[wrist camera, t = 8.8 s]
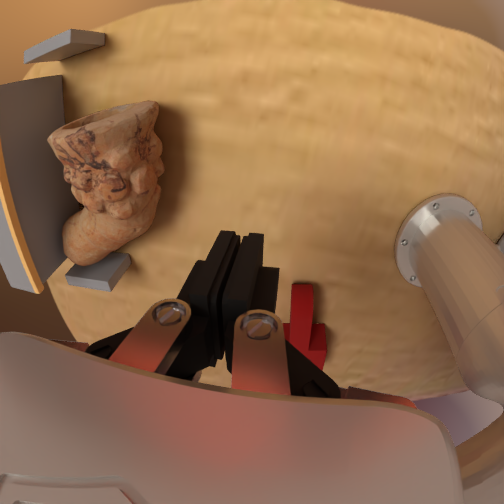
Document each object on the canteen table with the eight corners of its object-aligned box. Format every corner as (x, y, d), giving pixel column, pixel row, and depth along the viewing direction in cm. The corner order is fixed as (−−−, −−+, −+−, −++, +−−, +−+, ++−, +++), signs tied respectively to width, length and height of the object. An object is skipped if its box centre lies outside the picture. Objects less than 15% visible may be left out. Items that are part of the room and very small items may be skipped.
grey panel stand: (104, 33, 21) (25, 26, 10) (131, 263, 36) (87, 327, 26) (35, 60, 21) (-38, 72, 11) (68, 256, 37) (22, 308, 27)
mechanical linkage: (318, 357, 43) (319, 383, 38) (272, 356, 43) (270, 382, 39) (331, 276, 34) (336, 304, 30) (272, 275, 35) (269, 303, 31)
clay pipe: (219, 160, 32) (140, 55, 22) (217, 222, 24) (98, 81, 14) (108, 227, 37) (36, 156, 27) (87, 289, 30) (-8, 210, 20)
